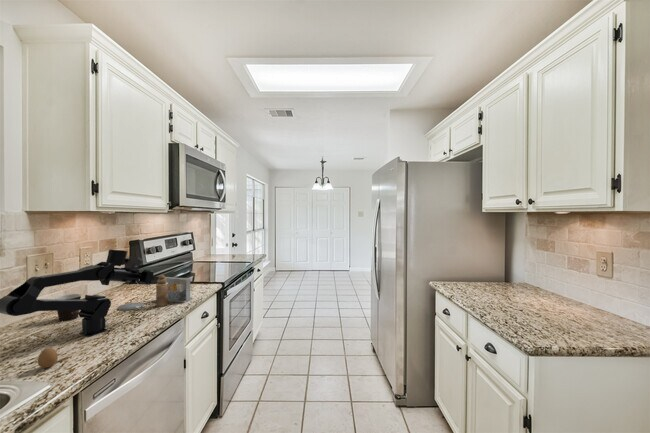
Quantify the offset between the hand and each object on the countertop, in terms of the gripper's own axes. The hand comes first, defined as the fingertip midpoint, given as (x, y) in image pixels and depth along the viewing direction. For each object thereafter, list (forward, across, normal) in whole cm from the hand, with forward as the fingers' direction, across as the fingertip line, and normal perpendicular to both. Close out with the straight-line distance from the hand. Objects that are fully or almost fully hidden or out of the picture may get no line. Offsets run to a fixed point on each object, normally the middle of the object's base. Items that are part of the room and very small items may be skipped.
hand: (151, 277), depth 137 cm
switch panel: (+22, +4, +11) cm, 25 cm away
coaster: (+6, +16, +16) cm, 23 cm away
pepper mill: (+13, +3, +14) cm, 19 cm away
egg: (-41, -15, +30) cm, 52 cm away
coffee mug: (-13, +27, +21) cm, 36 cm away
